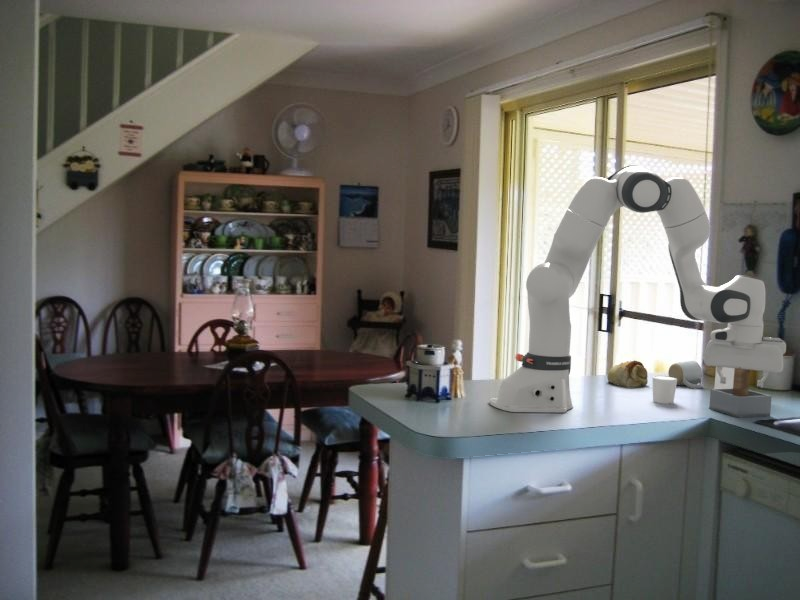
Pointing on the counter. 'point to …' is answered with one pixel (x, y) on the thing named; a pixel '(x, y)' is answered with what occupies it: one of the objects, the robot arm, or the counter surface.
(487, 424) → the counter surface
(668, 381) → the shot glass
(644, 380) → the pastry
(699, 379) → the ceramic mug
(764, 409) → the grey storage tray
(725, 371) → the milk
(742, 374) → the brown wooden block
